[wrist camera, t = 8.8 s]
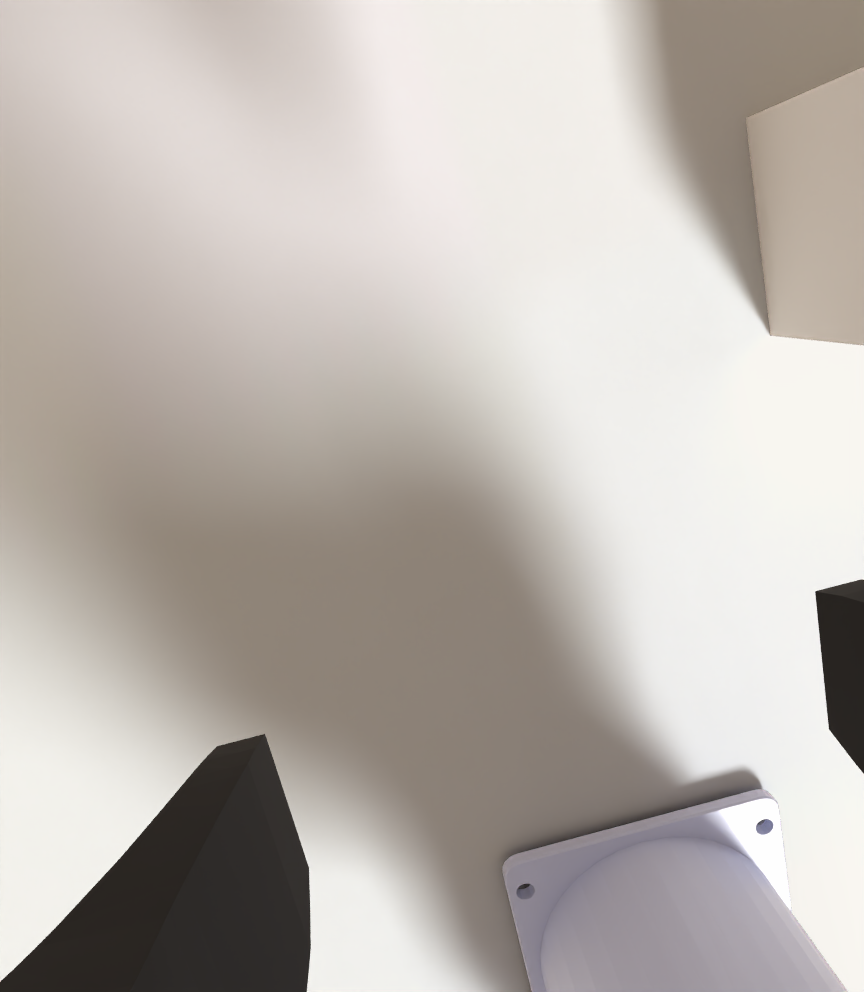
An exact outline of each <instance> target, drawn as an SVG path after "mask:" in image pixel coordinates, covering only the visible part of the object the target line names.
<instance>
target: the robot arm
mask: <svg viewBox="0 0 864 992" xmlns="http://www.w3.org/2000/svg"><path fill="white" fill-rule="evenodd" d="M815 593H816V603H817V613H818V623H819V633H820V643H821V653H822V663H823V673H824V683H825V693H826V703H827V713H828V723H829V730H830V731H831V732H832V734H833V735H834V736H835V737H836V739H837V740H838V741H839V743H840V744H841V745H842V747H843V748H844V749H845V750H846V752H847V753H848V754H849V756H850V757H851V758H852V760H853V761H854V762H855V763H856V765H857V766H858V767H859V768H860V770H861V771H862V772H863V773H864V580H857V581H854V582H850V583H846V584H842V585H838V586H834V587H830V588H827V589H823V590H819V591H815ZM763 819H766V820H765V821H764V822H763V823H762V824H760V825H758V826H756V825H757V823H758V822H759V821H761V820H763ZM502 873H503V877H504V881H505V886H506V890H507V894H508V898H509V902H510V906H511V910H512V914H513V918H514V922H515V926H516V930H517V934H518V938H519V942H520V947H521V951H522V955H523V959H524V963H525V967H526V971H527V975H528V979H529V983H530V987H531V991H532V992H848V991H847V990H846V988H845V987H844V985H843V984H842V983H841V981H840V980H839V978H838V977H837V976H836V974H835V973H834V971H833V970H832V968H831V967H830V966H829V964H828V963H827V961H826V960H825V959H824V957H823V956H822V954H821V953H820V952H819V950H818V949H817V947H816V946H815V945H814V943H813V942H812V940H811V939H810V938H809V936H808V935H807V933H806V932H805V931H804V929H803V928H802V926H801V925H800V924H799V922H798V921H797V919H796V918H795V916H794V915H793V914H792V910H791V902H790V894H789V886H788V878H787V870H786V862H785V853H784V845H783V837H782V829H781V821H780V813H779V806H778V803H777V801H776V800H775V799H774V797H773V796H772V795H771V794H770V793H769V792H768V791H766V790H762V789H757V790H752V791H748V792H744V793H741V794H737V795H733V796H729V797H726V798H722V799H718V800H715V801H711V802H707V803H703V804H700V805H696V806H692V807H688V808H685V809H681V810H677V811H674V812H670V813H666V814H662V815H659V816H655V817H651V818H648V819H644V820H640V821H636V822H633V823H629V824H625V825H621V826H618V827H614V828H610V829H607V830H603V831H599V832H595V833H592V834H588V835H584V836H581V837H577V838H573V839H569V840H566V841H562V842H558V843H554V844H551V845H547V846H543V847H540V848H536V849H532V850H528V851H525V852H521V853H517V854H515V855H512V856H510V857H509V858H508V859H507V860H506V861H505V862H504V864H503V867H502ZM523 884H530V885H529V887H527V888H525V889H518V887H519V886H521V885H523ZM310 949H311V941H310V890H309V867H308V864H307V861H306V858H305V855H304V852H303V849H302V846H301V843H300V840H299V836H298V833H297V830H296V827H295V824H294V821H293V818H292V815H291V812H290V809H289V806H288V803H287V800H286V797H285V794H284V791H283V788H282V785H281V782H280V779H279V776H278V772H277V769H276V766H275V763H274V760H273V757H272V754H271V751H270V748H269V745H268V742H267V739H266V736H265V734H263V735H259V736H255V737H252V738H248V739H244V740H240V741H236V742H232V743H228V744H225V745H221V746H217V747H216V748H215V749H214V750H213V751H212V752H211V753H210V754H209V755H208V756H207V757H206V758H205V759H204V761H203V762H202V763H201V764H200V765H199V766H198V767H197V769H196V770H195V771H194V772H193V773H192V774H191V776H190V777H189V778H188V779H187V780H186V781H185V783H184V784H183V785H182V786H181V787H180V789H179V790H178V791H177V792H176V793H175V795H174V796H173V797H172V798H171V799H170V801H169V802H168V803H167V804H166V805H165V807H164V808H163V809H162V810H161V811H160V812H159V814H158V815H157V816H156V817H155V818H154V819H153V821H152V822H151V823H150V824H149V825H148V826H147V828H146V829H145V830H144V831H143V832H142V833H141V835H140V836H139V837H138V838H137V839H136V840H135V842H134V843H133V844H132V845H131V846H130V847H129V849H128V850H127V851H126V852H125V853H124V854H123V856H122V857H121V858H120V859H119V860H118V861H117V862H116V863H115V864H114V866H113V867H112V868H111V869H110V870H109V871H108V872H107V873H106V874H105V875H104V876H103V877H102V878H101V880H100V881H99V882H98V883H97V884H96V885H95V886H94V887H93V888H92V889H91V890H90V891H89V892H88V894H87V895H86V896H85V897H84V898H83V899H82V900H81V901H80V902H79V903H78V904H77V905H76V906H75V908H74V909H73V910H72V911H71V912H70V913H69V914H68V915H67V916H66V917H65V918H64V919H63V920H62V922H61V923H60V924H59V925H58V926H57V927H56V928H55V929H54V930H53V931H52V932H51V933H50V934H49V935H48V936H47V937H46V938H45V939H44V940H43V941H42V942H41V943H40V944H39V945H38V946H37V947H36V948H35V949H34V950H33V951H32V952H31V953H30V954H29V955H28V956H27V957H26V958H25V959H24V960H23V961H22V962H21V963H20V964H19V965H18V966H17V967H16V968H15V969H14V970H13V971H11V972H10V973H9V974H8V975H7V976H6V977H5V978H4V979H3V980H2V981H1V982H0V992H307V982H308V972H309V960H310Z"/></svg>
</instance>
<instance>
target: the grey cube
mask: <svg viewBox="0 0 864 992" xmlns="http://www.w3.org/2000/svg"><path fill="white" fill-rule="evenodd" d="M746 126H747V135H748V143H749V152H750V161H751V170H752V179H753V187H754V196H755V205H756V214H757V223H758V231H759V240H760V249H761V258H762V267H763V275H764V284H765V293H766V302H767V311H768V319H769V328H770V336H779V337H789V338H798V339H808V340H817V341H827V342H836V343H846V344H855V345H864V67H861V68H859V69H857V70H855V71H852V72H850V73H848V74H845V75H843V76H841V77H839V78H836V79H834V80H832V81H829V82H827V83H825V84H822V85H820V86H818V87H816V88H813V89H811V90H809V91H806V92H804V93H802V94H800V95H797V96H795V97H793V98H790V99H788V100H786V101H783V102H781V103H779V104H777V105H774V106H772V107H770V108H767V109H765V110H763V111H761V112H758V113H756V114H754V115H751V116H749V117H747V118H746Z"/></svg>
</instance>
